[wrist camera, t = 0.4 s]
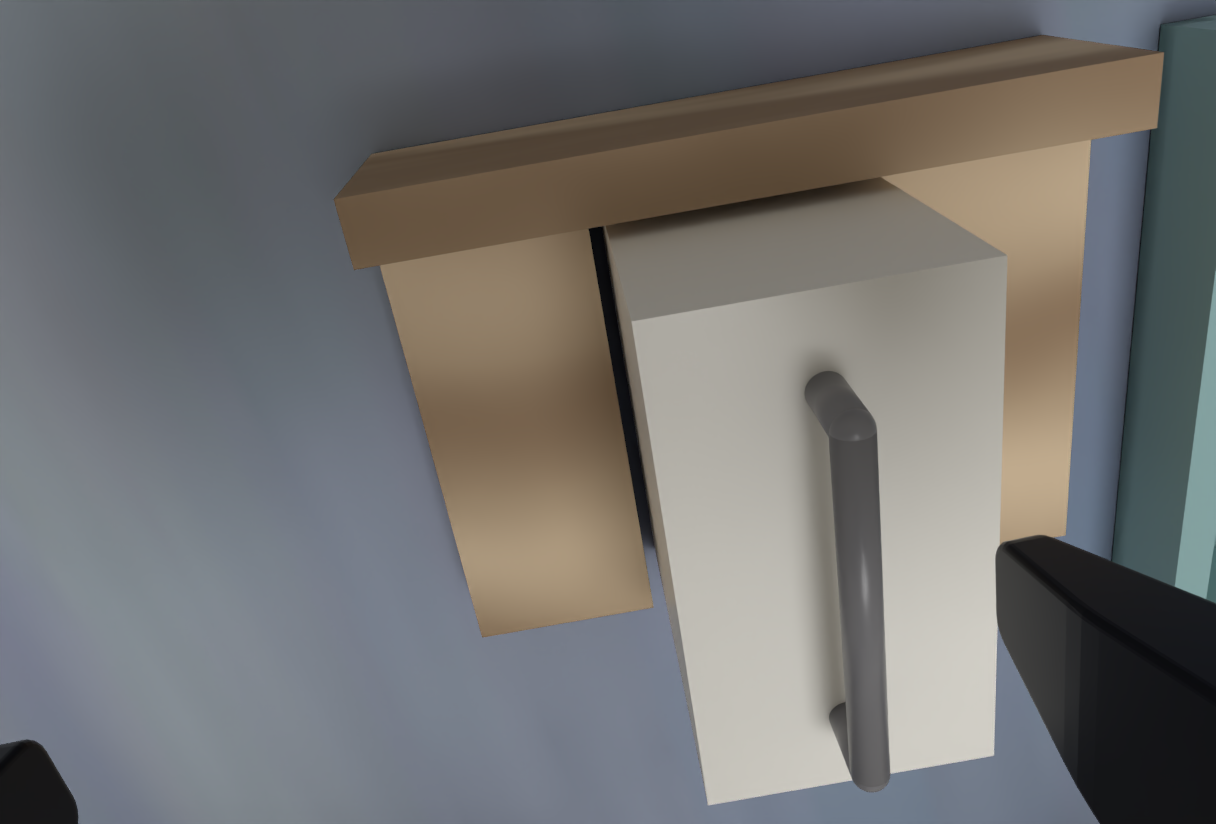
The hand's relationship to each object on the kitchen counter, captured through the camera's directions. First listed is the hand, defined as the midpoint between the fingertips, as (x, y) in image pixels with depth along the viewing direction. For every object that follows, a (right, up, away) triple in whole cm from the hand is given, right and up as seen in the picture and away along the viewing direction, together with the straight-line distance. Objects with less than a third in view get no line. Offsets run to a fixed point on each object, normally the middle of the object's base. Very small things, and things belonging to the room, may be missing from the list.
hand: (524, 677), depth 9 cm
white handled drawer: (+4, +3, +13) cm, 14 cm away
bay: (+4, +3, +13) cm, 14 cm away
